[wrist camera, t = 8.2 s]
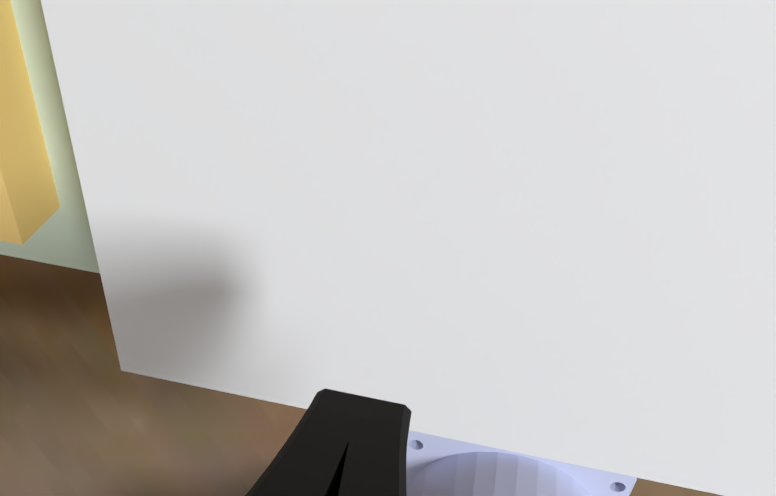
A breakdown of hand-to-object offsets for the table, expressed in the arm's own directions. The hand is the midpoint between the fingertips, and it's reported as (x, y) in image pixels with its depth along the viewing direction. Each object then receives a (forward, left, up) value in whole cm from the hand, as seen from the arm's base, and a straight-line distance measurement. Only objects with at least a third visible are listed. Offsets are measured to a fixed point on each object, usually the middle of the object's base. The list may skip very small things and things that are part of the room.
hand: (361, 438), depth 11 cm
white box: (0, -3, -10) cm, 10 cm away
